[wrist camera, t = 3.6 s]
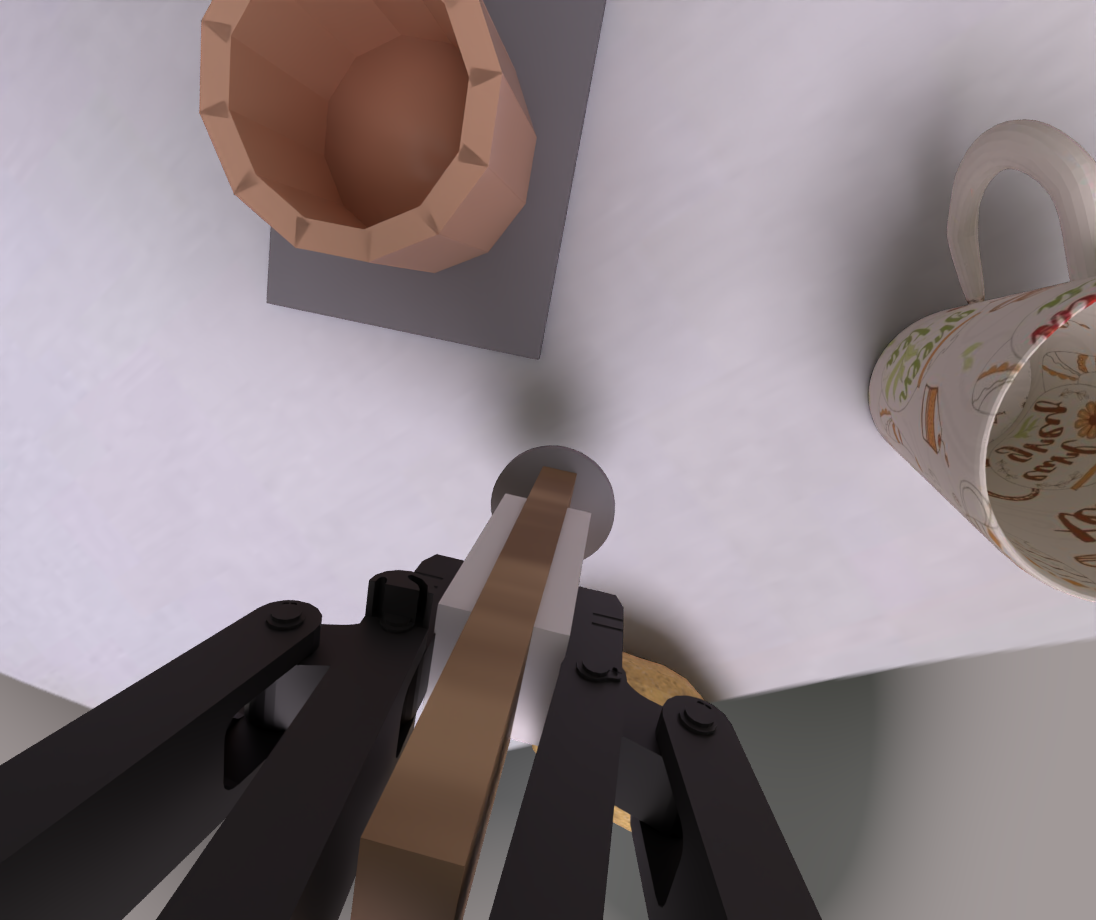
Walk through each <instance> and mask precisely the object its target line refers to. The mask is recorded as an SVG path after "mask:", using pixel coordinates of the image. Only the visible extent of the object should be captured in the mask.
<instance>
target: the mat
mask: <svg viewBox="0 0 1096 920" xmlns="http://www.w3.org/2000/svg"><path fill="white" fill-rule="evenodd" d="M483 2H484V5H485V7H486V9H487V11H488V13H489V15H490V17H491V19H492V22H493V24H494V26H495V28H496V30H497V32H498V34H499V36H500V39H501V41H502V43H503V45H504V47H505V49H506V51H507V53H508V56H509V58H510V60H511V62H512V64H513V66H514V68H515V70H516V74H517V77H518V80H519V83H520V86H521V90H522V93H523V96H524V99H525V102H526V105H527V109H528V112H529V115H530V118H531V121H532V124H533V128H534V131H535V134H536V137H537V139H536V145H535V151H534V157H533V163H532V169H531V175H530V181H529V187H528V192H527V198H526V204H525V205H524V207H523V208H522V209H521V210H520V212H519V213H518V214H517V216H516V217H515V218H514V219H513V221H512V222H511V223H510V225H509V226H508V227H507V229H506V230H505V231H504V232H503V234H502V235H501V236H500V238H499V239H498V240H497V241H496V243H495V244H494V245H493V247H492V248H491V249H490V251H489V252H488V253H485V254H483V255H480V256H478V257H475V258H472V259H470V260H467V261H465V262H462V263H460V264H457V265H454V266H452V267H449V268H447V269H444V270H441V271H439V272H436V273H431V272H425V271H418V270H412V269H406V268H399V267H393V266H387V265H381V264H374V263H368V262H365V261H360V260H355V259H350V258H345V257H340V256H335V255H330V254H325V253H320V252H315V251H310V250H305V249H299V248H295V247H294V246H293V245H292V244H291V243H289V242H288V241H287V240H286V239H285V238H284V237H283V236H281V235H280V234H279V233H278V232H277V231H276V230H275V229H273V228H272V227H271V232H270V250H269V268H268V286H267V303H269V304H274V305H279V306H283V307H288V308H293V309H298V310H302V311H307V312H312V313H317V314H322V315H326V316H331V317H336V318H341V319H345V320H350V321H355V322H360V323H365V324H369V325H374V326H379V327H384V328H388V329H393V330H398V331H403V332H408V333H412V334H417V335H422V336H427V337H431V338H436V339H441V340H446V341H451V342H455V343H460V344H465V345H470V346H474V347H479V348H484V349H489V350H494V351H498V352H503V353H508V354H513V355H517V356H522V357H527V358H532V359H537V360H539V358H540V353H541V348H542V342H543V337H544V332H545V326H546V321H547V315H548V310H549V305H550V299H551V294H552V289H553V283H554V278H555V273H556V267H557V262H558V256H559V251H560V246H561V240H562V235H563V230H564V224H565V219H566V214H567V208H568V203H569V198H570V192H571V187H572V181H573V176H574V171H575V165H576V160H577V155H578V149H579V144H580V139H581V133H582V128H583V122H584V117H585V112H586V106H587V101H588V96H589V90H590V85H591V80H592V74H593V69H594V63H595V58H596V53H597V47H598V42H599V37H600V31H601V26H602V21H603V15H604V10H605V5H606V0H483Z"/></svg>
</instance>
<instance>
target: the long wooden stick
mask: <svg viewBox="0 0 1096 920" xmlns="http://www.w3.org/2000/svg"><path fill="white" fill-rule="evenodd" d="M505 494H510V495H514V496H519V497H523V498H527V500H526V502H525V504H524V506H523V508H522V510H521V512H520V514H519V516H518V518H517V520H516V522H515V524H514V526H513V528H512V530H511V532H510V535H509V537H508V539H507V541H506V543H505V545H504V547H503V549H502V551H501V553H500V555H499V557H498V559H497V561H496V563H495V565H494V567H493V569H492V571H491V573H490V575H489V577H488V579H487V581H486V583H485V585H484V587H483V589H482V591H481V594H480V596H479V598H478V600H477V602H476V604H475V606H474V608H473V610H472V612H471V614H470V616H469V618H468V620H467V622H466V624H465V626H464V628H463V630H462V632H461V634H460V636H459V638H458V640H457V642H456V644H455V646H454V648H453V650H452V653H451V655H450V657H449V659H448V661H447V663H446V665H445V667H444V669H443V671H442V673H441V675H440V677H439V679H438V681H437V683H436V685H435V687H434V689H433V691H432V693H431V695H430V697H429V699H428V701H427V703H426V705H425V707H424V709H423V712H422V714H421V716H420V718H419V720H418V722H417V724H416V726H415V728H414V730H413V732H412V734H411V736H410V738H409V740H408V742H407V744H406V746H405V748H404V750H403V752H402V754H401V756H400V758H399V760H398V762H397V764H396V766H395V768H394V771H393V773H392V775H391V777H390V779H389V781H388V783H387V785H386V787H385V789H384V791H383V793H382V795H381V797H380V799H379V801H378V803H377V805H376V807H375V809H374V811H373V813H372V815H371V817H370V819H369V821H368V823H367V825H366V827H365V830H364V832H363V834H362V836H361V838H360V846H359V855H358V863H357V871H356V879H355V887H354V896H353V904H352V912H351V920H463V916H464V912H465V908H466V905H467V901H468V897H469V893H470V890H471V885H472V882H473V878H474V875H475V871H476V867H477V863H478V859H479V856H480V852H481V848H482V844H483V841H484V837H485V833H486V829H487V825H488V822H489V818H490V814H491V810H492V806H493V803H494V799H495V795H496V791H497V788H498V784H499V780H500V776H501V773H502V769H503V765H504V761H505V758H506V754H507V750H508V746H509V743H510V737H511V732H512V728H513V723H514V718H515V713H516V709H517V704H518V699H519V694H520V689H521V685H522V680H523V675H524V670H525V666H526V661H527V656H528V651H529V647H530V642H531V637H532V632H533V627H534V624H535V620H536V617H537V613H538V610H539V606H540V603H541V599H542V596H543V592H544V589H545V585H546V582H547V578H548V575H549V571H550V568H551V564H552V561H553V557H554V554H555V550H556V547H557V543H558V540H559V536H560V533H561V529H562V525H563V522H564V518H565V515H566V511H567V508H571V509H576V510H580V511H585V512H589V513H591V518H590V523H589V529H588V535H587V541H586V546H585V552H584V558H583V560H584V559H586V558H587V557H589V556H591V555H592V554H593V553H594V552H596V551H597V550H598V549H599V548H600V547H601V546H602V544H603V543H604V542H605V540H606V539H607V537H608V535H609V533H610V531H611V528H612V525H613V521H614V513H615V500H614V494H613V490H612V487H611V484H610V482H609V480H608V478H607V476H606V474H605V473H604V472H603V470H602V469H601V468H600V467H599V466H598V465H597V464H596V463H595V462H594V461H593V460H592V459H590V458H589V457H588V456H586V455H584V454H583V453H581V452H579V451H576V450H574V449H571V448H567V447H562V446H541V447H536V448H533V449H530V450H527V451H525V452H523V453H521V454H520V455H518V456H517V457H515V458H514V459H513V460H512V461H511V462H510V463H509V464H508V465H507V466H506V467H505V469H504V470H503V471H502V473H501V474H500V476H499V477H498V479H497V481H496V483H495V486H494V488H493V492H492V498H491V512H492V515H493V513H494V512H495V510H496V508H497V507H498V505H499V503H500V502H501V500H502V498H503V497H504V495H505Z"/></svg>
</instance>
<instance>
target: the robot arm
mask: <svg viewBox="0 0 1096 920" xmlns="http://www.w3.org/2000/svg"><path fill="white" fill-rule="evenodd" d="M526 500H527V498H523V497H519V496H514V495H510V494H505V495H504V497H503V498H502V500H501V502H500V503H499V505H498V507H497V508H496V510H495V512H494V513H493V515H492V516H491V518H490V520H489V521H488V523H487V525H486V526H485V528H484V529H483V531H482V533H481V534H480V536H479V538H478V539H477V541H476V543H475V544H474V546H473V547H472V549H471V551H470V552H469V554H468V556H467V557H466V559H465V561H463V560H459V559H455V558H451V557H446V556H442V555H438V554H436V555H434V556H432V557H430V558H428V559H426V560H424V561H422V562H421V564H420V565H419V566H418V568H417V569H416V570H415V572H411V571H403V570H394V571H386V572H383V573H380V574H377V575H375V576H374V577H372V578H371V579H370V580H369V585H368V594H367V604H366V613H365V617H364V618H363V620H362V621H361V623H359V624H354V625H329V624H321V622H322V614H321V613H320V611H319V610H318V608H316V607H314V606H313V605H311V604H309V603H305V602H301V601H295V600H283V601H278V602H272V603H269V604H266V605H264V606H262V607H259V608H257V609H256V610H254V611H253V612H251V613H249V614H248V615H246V616H244V617H243V618H241V619H239V620H238V621H236V622H234V623H233V624H231V625H230V626H228V627H226V628H225V629H223V630H221V631H220V632H218V633H216V634H215V635H213V636H212V637H210V638H208V639H207V640H205V641H203V642H202V643H200V644H198V645H197V646H195V647H194V648H192V649H190V650H189V651H187V652H185V653H184V654H182V655H180V656H179V657H177V658H175V659H174V660H172V661H171V662H169V663H167V664H166V665H164V666H162V667H161V668H159V669H157V670H156V671H154V672H153V673H151V674H149V675H148V676H146V677H144V678H143V679H141V680H139V681H138V682H136V683H135V684H133V685H131V686H130V687H128V688H126V689H125V690H123V691H121V692H120V693H118V694H116V695H115V696H113V697H112V698H110V699H108V700H107V701H105V702H103V703H102V704H100V705H98V706H97V707H95V708H94V709H92V710H90V711H89V712H87V713H85V714H84V715H82V716H80V717H79V718H77V719H76V720H74V721H72V722H71V723H69V724H67V725H66V726H64V727H63V728H61V729H59V730H58V731H56V732H54V733H53V734H51V735H49V736H48V737H46V738H44V739H43V740H41V741H40V742H38V743H36V744H35V745H33V746H31V747H30V748H28V749H26V750H25V751H23V752H21V753H20V754H18V755H17V756H15V757H13V758H12V759H10V760H8V761H7V762H5V763H3V764H2V765H0V920H122V919H123V918H124V917H125V916H126V915H127V914H128V913H129V912H130V911H131V910H132V909H133V908H134V907H135V906H136V905H137V904H139V903H140V902H141V901H142V899H144V898H145V897H146V896H147V895H148V894H149V893H150V892H151V891H152V890H153V889H154V888H155V887H156V886H157V885H158V884H159V883H160V882H161V881H162V880H163V879H164V878H165V877H166V876H167V875H168V874H169V873H170V872H171V871H172V870H173V869H174V868H175V867H176V866H177V865H178V864H179V863H180V862H181V861H182V860H183V859H185V857H186V856H188V855H189V853H191V852H192V851H193V850H194V849H195V848H196V847H197V846H198V845H199V844H200V843H201V842H202V841H203V840H204V839H205V838H206V837H207V836H208V835H209V834H210V833H211V832H212V831H213V830H214V829H215V828H216V827H217V826H218V825H219V824H220V823H221V822H222V821H223V820H224V819H225V818H226V819H225V820H224V822H223V823H222V825H221V826H220V828H219V829H218V830H217V832H216V833H215V835H214V836H213V838H212V839H211V841H210V842H209V843H208V845H207V846H206V848H205V849H204V851H203V852H202V854H201V855H200V856H199V858H198V859H197V861H196V862H195V864H194V865H193V867H192V868H191V870H190V871H189V873H188V874H187V876H186V877H185V878H184V880H183V881H182V883H181V884H180V886H179V887H178V888H177V890H176V892H175V893H174V894H173V896H172V897H171V899H170V900H169V902H168V903H167V904H166V906H165V907H164V909H163V910H162V912H161V913H160V915H159V916H158V918H157V919H156V920H338V919H339V916H340V913H341V911H342V909H343V906H344V904H345V901H346V899H347V896H348V894H349V891H350V889H351V886H352V883H353V881H354V879H355V876H356V871H357V863H358V855H359V846H360V838H361V836H362V834H363V832H364V830H365V827H366V825H367V823H368V821H369V819H370V817H371V815H372V813H373V811H374V809H375V807H376V805H377V803H378V801H379V799H380V797H381V795H382V793H383V791H384V789H385V787H386V785H387V783H388V781H389V779H390V777H391V775H392V773H393V771H394V768H395V766H396V764H397V762H398V760H399V758H400V756H401V754H402V752H403V750H404V748H405V746H406V744H407V742H408V740H409V738H410V736H411V734H412V732H413V730H414V724H415V717H416V712H417V710H418V708H419V706H420V704H421V702H422V700H423V698H424V701H423V707H422V712H423V709H424V707H425V705H426V703H427V701H428V699H429V697H430V695H431V693H432V691H433V689H434V687H435V685H436V683H437V681H438V679H439V677H440V675H441V673H442V671H443V669H444V667H445V665H446V663H447V661H448V659H449V657H450V655H451V653H452V650H453V648H454V646H455V644H456V642H457V640H458V638H459V636H460V634H461V632H462V630H463V628H464V626H465V624H466V622H467V620H468V618H469V616H470V614H471V612H472V610H473V608H474V606H475V604H476V602H477V600H478V598H479V596H480V594H481V591H482V589H483V587H484V585H485V583H486V581H487V579H488V577H489V575H490V573H491V571H492V569H493V567H494V565H495V563H496V561H497V559H498V557H499V555H500V553H501V551H502V549H503V547H504V545H505V543H506V541H507V539H508V537H509V535H510V532H511V530H512V528H513V526H514V524H515V522H516V520H517V518H518V516H519V514H520V512H521V510H522V508H523V506H524V504H525V502H526ZM590 518H591V513H589V512H585V511H580V510H576V509H571V508H567V511H566V515H565V518H564V522H563V525H562V529H561V533H560V536H559V540H558V543H557V547H556V550H555V554H554V557H553V561H552V564H551V568H550V571H549V575H548V578H547V582H546V585H545V589H544V592H543V596H542V599H541V603H540V606H539V610H538V613H537V617H536V620H535V624H534V627H533V632H532V637H531V642H530V647H529V651H528V656H527V661H526V666H525V670H524V675H523V680H522V685H521V689H520V694H519V699H518V704H517V709H516V713H515V718H514V723H513V728H512V732H511V737H510V739H513V740H517V741H520V742H524V743H528V744H532V745H536V746H538V749H537V752H536V756H535V759H534V763H533V766H532V770H531V773H530V777H529V780H528V784H527V787H526V791H525V794H524V798H523V801H522V805H521V808H520V812H519V815H518V819H517V822H516V826H515V830H514V833H513V837H512V840H511V843H510V847H509V850H508V854H507V857H506V861H505V864H504V868H503V871H502V875H501V878H500V882H499V885H498V889H497V892H496V896H495V900H494V903H493V906H492V910H491V913H490V917H489V920H603V913H604V903H605V894H606V883H607V874H608V864H609V854H610V844H611V833H612V824H613V815H614V806H616V807H618V808H620V809H621V810H623V811H625V812H627V813H628V814H630V826H631V831H632V836H633V841H634V846H635V851H636V857H637V862H638V867H639V872H640V876H641V882H642V887H643V892H644V897H645V902H646V907H647V913H648V918H649V920H822V919H821V917H820V915H819V912H818V910H817V908H816V906H815V904H814V901H813V899H812V897H811V895H810V893H809V891H808V889H807V886H806V884H805V882H804V880H803V878H802V875H801V873H800V871H799V869H798V867H797V865H796V862H795V860H794V858H793V856H792V854H791V852H790V850H789V847H788V845H787V843H786V841H785V839H784V837H783V834H782V832H781V830H780V828H779V826H778V824H777V822H776V820H775V817H774V815H773V813H772V811H771V809H770V806H769V804H768V802H767V800H766V798H765V796H764V793H763V791H762V789H761V787H760V785H759V783H758V780H757V778H756V776H755V774H754V772H753V770H752V768H751V765H750V763H749V761H748V759H747V757H746V754H745V752H744V750H743V748H742V746H741V744H740V741H739V739H738V737H737V735H736V733H735V731H734V729H733V726H732V724H731V723H730V721H729V720H728V719H727V717H726V716H725V714H724V713H722V712H721V711H720V710H719V709H717V708H716V707H715V706H714V705H712V704H710V703H708V702H706V701H704V700H702V699H700V698H696V697H692V696H688V695H683V696H674V697H672V698H669V699H667V700H666V702H665V703H664V705H663V706H661V705H659V704H657V703H655V702H653V701H651V700H649V699H647V698H646V697H644V696H642V695H640V694H639V693H638V692H637V691H636V690H634V689H633V688H632V687H631V686H630V684H629V683H628V682H627V677H626V672H625V670H624V669H623V668H622V654H623V606H622V605H621V603H620V601H619V600H618V598H617V597H616V595H613V594H608V593H604V592H600V591H596V590H592V589H587V588H583V587H579V581H580V575H581V569H582V563H583V558H584V552H585V546H586V541H587V535H588V529H589V523H590Z"/></svg>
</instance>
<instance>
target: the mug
mask: <svg viewBox="0 0 1096 920" xmlns="http://www.w3.org/2000/svg"><path fill="white" fill-rule="evenodd" d="M1006 169H1015V170H1018V171H1021V172H1024V173H1025V174H1027V175H1029V176H1031V177H1032V178H1033V179H1035V180H1036V181H1037V182H1039V183H1040V185H1041V186H1042V187H1043V188H1044V189H1045V190H1046V191H1047V193H1048V194H1049V195H1050V197H1051V199H1052V200H1053V202H1054V204H1055V207H1056V210H1057V213H1058V216H1059V220H1060V225H1061V230H1062V235H1063V241H1064V248H1065V254H1066V260H1067V266H1068V273H1069V279H1070V282H1066V283H1062V284H1058V285H1054V286H1049V287H1045V288H1040V289H1036V290H1031V291H1027V292H1022V293H1018V294H1013V295H1009V296H1004V297H1000V298H996V299H991V300H987V301H985V292H984V280H983V272H982V265H981V258H980V251H979V243H978V217H979V207H980V203H981V200H982V197H983V194H984V192H985V190H986V187H987V186H988V184H989V183H990V182H991V180H992V179H993V178H994V177H995V176H996V175H997V174H998V173H999V172H1000V171H1003V170H1006ZM947 240H948V244H949V248H950V252H951V256H952V259H953V263H954V266H955V269H956V272H957V276H958V279H959V282H960V285H961V288H962V290H963V293H964V296H965V298H966V300H967V302H968V304H969V305H964V306H960V307H955V308H951V309H947V310H944V311H940V312H937V313H934V314H931V315H929V316H926V317H924V318H922V319H920V320H918V321H916V322H915V323H913V324H911V325H910V326H908V327H907V328H906V329H904V330H903V331H902V332H901V333H899V334H898V335H897V336H896V337H895V338H894V339H893V340H892V341H891V342H890V343H889V345H888V346H887V347H886V348H885V350H884V351H883V353H882V354H881V356H880V357H879V359H878V361H877V363H876V365H875V367H874V370H873V373H872V376H871V380H870V385H869V407H870V412H871V415H872V418H873V421H874V423H875V425H876V427H877V429H878V431H879V432H880V434H881V435H882V437H883V438H884V439H885V440H886V441H887V442H888V443H889V444H890V445H891V446H892V448H893V449H895V450H896V451H897V452H898V453H899V454H900V455H901V456H902V457H903V458H904V459H905V460H906V461H907V462H908V463H909V464H910V465H911V466H912V467H913V468H914V469H915V470H916V471H917V472H918V473H919V474H920V475H921V476H922V477H924V478H925V479H926V480H927V481H928V482H929V483H930V484H931V485H932V486H933V487H934V488H935V489H936V490H937V491H938V492H939V493H940V494H941V495H942V496H943V497H944V498H945V499H946V500H947V501H948V502H949V503H950V504H951V505H953V506H954V507H955V508H956V509H957V510H958V511H959V512H960V513H961V514H962V515H963V516H964V517H965V518H966V519H967V520H968V521H969V522H970V523H971V524H972V525H973V526H974V527H975V528H976V529H977V530H978V531H979V532H980V533H982V534H983V535H984V536H985V537H986V538H987V539H988V540H989V541H990V542H991V543H992V544H993V545H994V546H995V547H996V548H997V549H998V550H999V551H1000V552H1002V553H1003V554H1004V555H1005V556H1006V557H1007V558H1009V559H1010V560H1011V561H1012V562H1013V563H1015V564H1016V565H1017V566H1018V567H1020V568H1021V569H1022V570H1024V571H1025V572H1027V573H1028V574H1030V575H1031V576H1033V577H1034V578H1036V579H1038V580H1039V581H1041V582H1042V583H1044V584H1046V585H1048V586H1050V587H1052V588H1054V589H1056V590H1059V591H1061V592H1064V593H1066V594H1069V595H1071V596H1074V597H1077V598H1080V599H1083V600H1087V601H1091V602H1095V603H1096V162H1095V161H1094V159H1093V158H1092V157H1091V156H1090V155H1089V154H1088V153H1087V152H1086V151H1085V150H1084V149H1083V148H1082V147H1081V146H1080V145H1079V144H1078V143H1077V142H1076V141H1074V140H1073V139H1072V138H1071V137H1069V136H1068V135H1066V134H1065V133H1063V132H1062V131H1061V130H1059V129H1057V128H1055V127H1053V126H1051V125H1049V124H1046V123H1043V122H1039V121H1036V120H1025V119H1024V120H1013V121H1006V122H1003V123H1000V124H997V125H995V126H994V127H992V128H990V129H989V130H987V131H986V132H984V133H983V134H981V135H980V136H979V137H978V138H977V139H976V140H975V141H974V142H973V144H972V145H971V146H970V148H969V149H968V151H967V152H966V154H965V156H964V157H963V159H962V161H961V163H960V165H959V168H958V170H957V172H956V175H955V179H954V183H953V188H952V195H951V202H950V208H949V215H948V222H947Z"/></svg>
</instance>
